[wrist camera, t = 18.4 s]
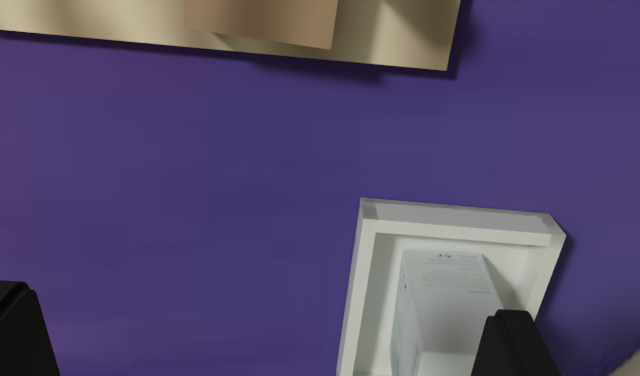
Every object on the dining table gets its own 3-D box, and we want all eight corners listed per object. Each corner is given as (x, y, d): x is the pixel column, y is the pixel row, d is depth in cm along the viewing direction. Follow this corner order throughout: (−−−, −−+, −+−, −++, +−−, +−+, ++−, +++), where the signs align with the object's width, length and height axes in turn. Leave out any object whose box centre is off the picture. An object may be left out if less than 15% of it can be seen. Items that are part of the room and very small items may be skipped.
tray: (548, 213, 36) (566, 235, 34) (489, 384, 45) (499, 413, 42) (360, 197, 36) (363, 218, 33) (335, 373, 44) (336, 401, 41)
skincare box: (397, 248, 37) (420, 353, 28) (482, 251, 37) (534, 357, 28) (384, 350, 42) (400, 468, 33) (459, 353, 42) (497, 472, 33)
